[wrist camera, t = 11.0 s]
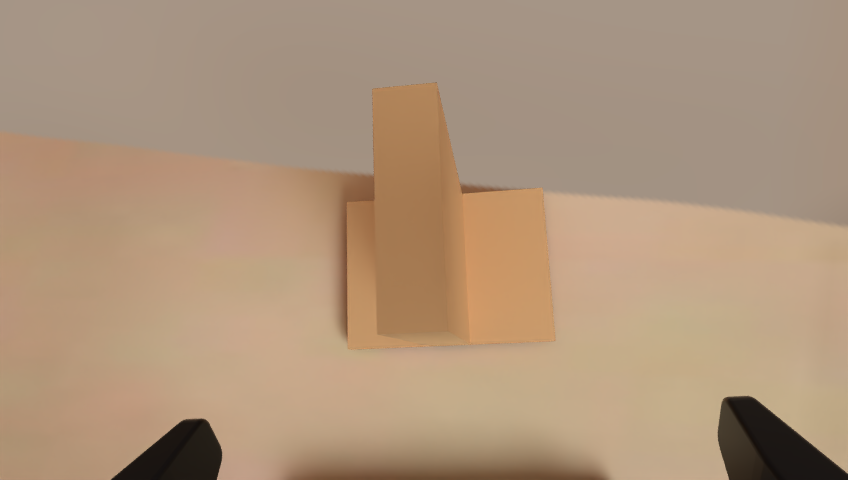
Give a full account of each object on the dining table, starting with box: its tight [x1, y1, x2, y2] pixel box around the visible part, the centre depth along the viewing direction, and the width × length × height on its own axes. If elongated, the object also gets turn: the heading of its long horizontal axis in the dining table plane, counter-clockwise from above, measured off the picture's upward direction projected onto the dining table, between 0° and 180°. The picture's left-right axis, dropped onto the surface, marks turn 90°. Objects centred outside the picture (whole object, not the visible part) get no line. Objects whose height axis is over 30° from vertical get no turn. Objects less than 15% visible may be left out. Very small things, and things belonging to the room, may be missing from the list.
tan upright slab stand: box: [347, 83, 555, 350], centre depth 18 cm, size 6×8×10 cm
